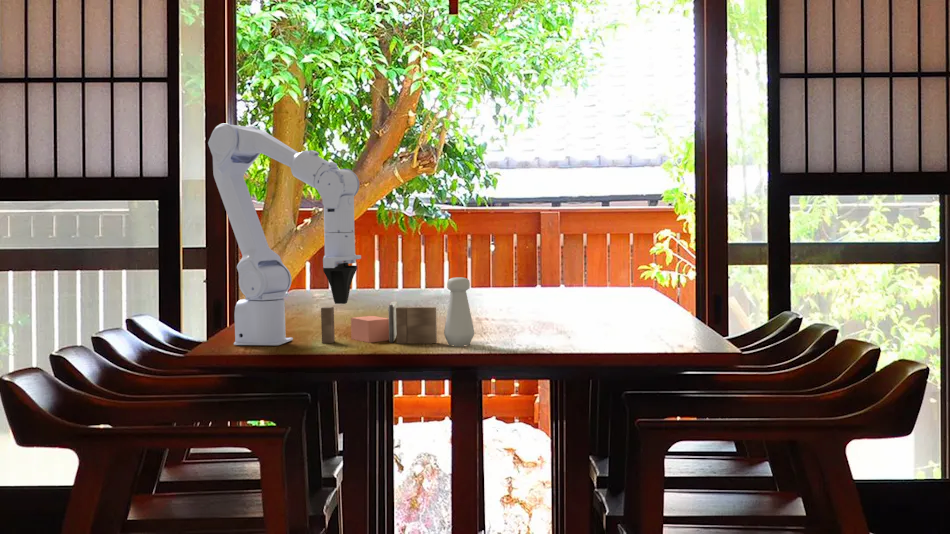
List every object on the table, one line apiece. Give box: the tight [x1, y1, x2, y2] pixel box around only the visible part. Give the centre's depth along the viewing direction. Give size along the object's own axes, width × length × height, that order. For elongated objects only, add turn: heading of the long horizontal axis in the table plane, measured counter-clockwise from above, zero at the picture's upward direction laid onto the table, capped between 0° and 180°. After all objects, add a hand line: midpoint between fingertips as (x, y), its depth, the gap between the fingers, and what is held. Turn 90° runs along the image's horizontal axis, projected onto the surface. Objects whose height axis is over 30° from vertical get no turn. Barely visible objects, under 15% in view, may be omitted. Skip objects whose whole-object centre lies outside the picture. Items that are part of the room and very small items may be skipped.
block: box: [350, 315, 389, 344], centre depth 190 cm, size 7×5×4 cm
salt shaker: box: [443, 276, 475, 347], centre depth 180 cm, size 6×6×13 cm
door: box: [387, 301, 398, 341], centre depth 191 cm, size 11×1×7 cm, turn 1°
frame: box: [320, 304, 438, 345], centre depth 185 cm, size 23×2×8 cm, turn 81°
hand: (340, 303), depth 179 cm, fingers closed
